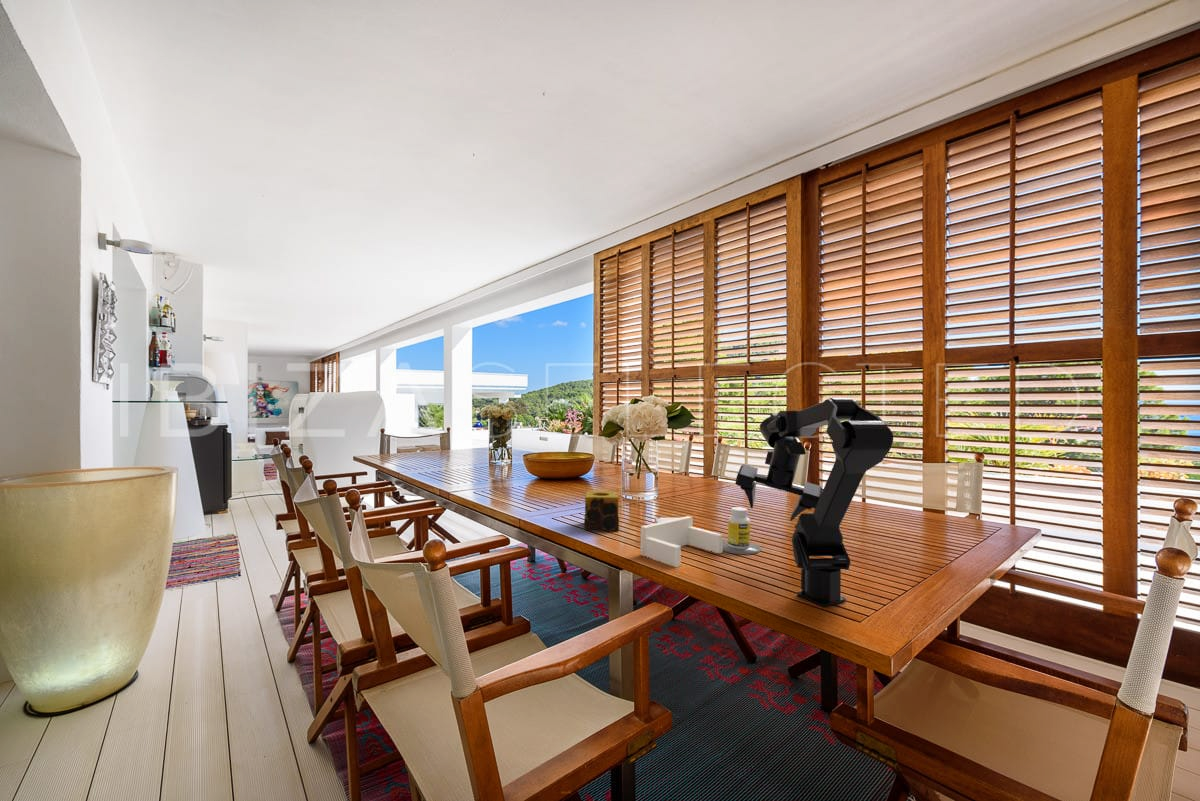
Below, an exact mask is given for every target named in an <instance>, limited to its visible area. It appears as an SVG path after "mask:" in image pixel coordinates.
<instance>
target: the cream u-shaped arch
mask: <svg viewBox="0 0 1200 801" xmlns="http://www.w3.org/2000/svg"><path fill="white" fill-rule="evenodd" d="M676 518H677V519H673V520H668V521H664V522H659V523H655V522H654V523H651V524H645V525H641V526H640V556H642V555H644V556H643V557H645V556H647V557H646V558H648V557H650V558H649V559H651V558H652V559H651V560H654V561H656V562H659V561H660V562H659V563H662V564H665V565H669V566H672V567H674V568H678V567H680V566H681V560H682V559H681V557H682V556H681V552H682V551H681V550H682V548H681V547H685V546H687V545H689V546H692V547H695V548H699V549H701V550H702V549H703V550H706V551H707V552H711V551H712V553H715V554H719V553H720V554H722V553H723V552H724V551H723V541H724V534H722V533H719V532H714V531H710V530H708V529H707V530H706V529H703V528H698V527H695V526H693V519H694V518H693V516H689V515H686V516H683V517H676ZM720 554H719V555H720Z"/></svg>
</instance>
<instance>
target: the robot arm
mask: <svg viewBox="0 0 1200 801" xmlns="http://www.w3.org/2000/svg"><path fill="white" fill-rule="evenodd" d="M824 426H825V427H826V426H827V428H826V433H827V436H828V437H829V438H830V439H831V441H832V442H831V447H832V449H833V452H834V455H835V461H834V464H833V466H832V468H831V471H830V473H829V475H828V478H827V480H826V482H825V485H824V487H822V486H821V485H818V484H814V483H811V482H808V481H805V482H804V485H803V486H802V485H798V484H794V480H795V476H796V474H797V473H796V472H797V468H798V465H799V461H800V457H801V456H804V455H806V449H805V447H804V446H803V443H802V441H800V439H799V438H809V437H810V436H812V435H814V434H815V433H817V429H818V428H821V427H824ZM759 431H760V433H761V435H762V436H763V438H764V439H765V441H766V443H767V444H768V446H769V447H771V448H773V451H772V450H769V449H768V451H767V454H766V457H765V462H764V464H765V465H768V466H769V467H768V472H767V476H765V475H761V474H759V473H758V467H754V466H752V465H751V466H750V465H747V464H742V465H741V466H740V467H739V470H738V472H737V475H736V478H735V485H737V486H739V487H740V489H741V490H742V491H744V493H745V495H746V497H747V500H748V504H749V507H750V509H753V508H754V504H755V500H756V490H757V489H756V486H757V485H761V486H764V487H767V488H771V489H775V490H778V491H785V492H787V493H791V494H794V495H797V496H798V499H797V501H796V502H795V505H794V506H793V507H794V508H793V509H792V512H791V514H790V519H789V521H793V520H794V519H795V518H796V517H798V515H799V517H798V520H797V522H796V524H795V525H794V528H795V529H794V532H793V534H792V537H791V542H792V543H791V544H792V550H793V557H794V562H795V564H796V567H797V568H800V570H801V571H800V577H801V578H800V591H797V592H796V595H797V596H798V597H800V598H802V599H805V600H807V601H810V602H812V603H815V604H817V605H819V606H821V607H827V606H832V605H835V604H839V603H843V602H846V601H847V597H845V596H842V595H841V594H842V593H841V592H842V591H841V587H842V586H841V583H842V580H841V579H842V577H841V576H842V570H845V571H849V569H850V566H851V558H850V555H849V554H848V551H847V549H846V547H845V545H844V542H843V540H844V536H843V533H842V531H841V529H840V526H841V524H842V522H843V520H844V518H845V515H846V513H847V510H848V509H849V507H850V504H851V502H852V501H853V498H854V497H855V494H856V493H857V490H858V489H859V486H860V484H861V482H862V481H863V478H864V476H865V474H866V472H868V471H869V470H870V469H872V468H874V467H876V466H877V465H878V464H880V463H882V461H883V460H884V459H885V457H886V456H887V455H888V453H889V452H890V450H891V449H892V447H893V443H894V434H893V431H892V429H890V428H889V426H888V425H887V424H886V423H885V422H884V421H883V419H882V418H881V417H880V416H879V415H877V414H876V413H874V412H872V411H870V410H869V409H867V408H864V407H863V406H861V405H860V404H859V402H858V401H857V400H855V399H853V398H851V397H829V398H827V399H825V400H824V401H822V402H820V403H816V404H814V405H812V406H809V407H806V408H804V409H801V410H780V411H778V412H771V413H770V415H769V416H768V417H767V418H765V419H763V420H762V422H761V423H760V424H759ZM812 509H814V511H813V512H811V513H810V512H808V513H807V512H805V513H804V511H806V510H812ZM802 512H803V513H802ZM810 557H811V558H810ZM813 557H815V558H813ZM818 557H821V558H818ZM825 557H826V558H825Z"/></svg>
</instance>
